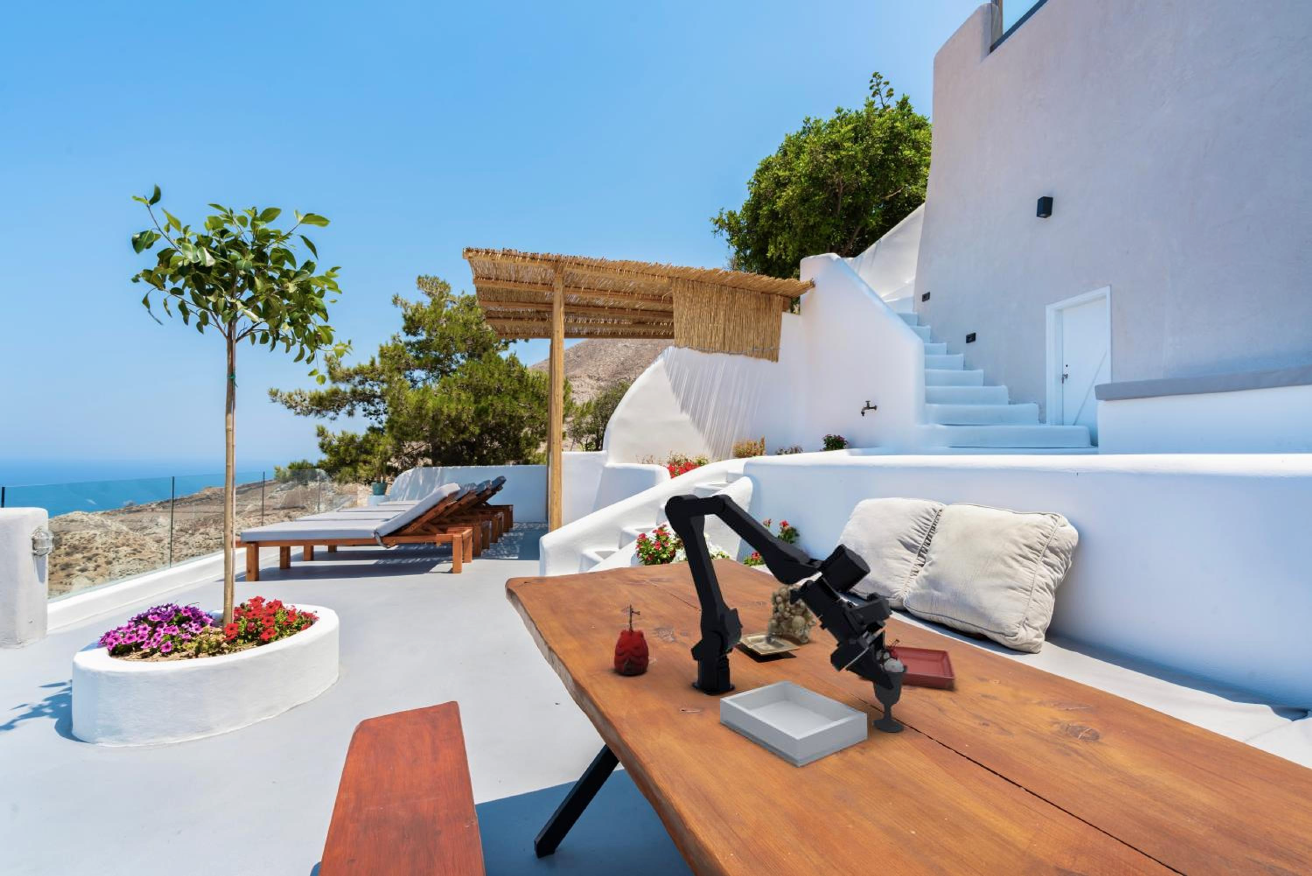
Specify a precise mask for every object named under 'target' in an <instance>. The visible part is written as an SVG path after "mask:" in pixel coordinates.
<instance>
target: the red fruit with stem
mask: <svg viewBox="0 0 1312 876" xmlns="http://www.w3.org/2000/svg"><path fill="white" fill-rule="evenodd" d="M628 608H629V620H628V624H629V629H628V630H627V629H622V630H621V631H620V636H619V638H618V639H617V641H616V643H615V648H614V658H613V665H614V667H615V669H616V671H617V672H619V673H620V674H621V675H625V676H626V675H627V676H637V675H641V674H642V673H645V672H646V670H647V669H648V666H649V663H650V659H649V656H650V654H649V653H650V652H649V646H648V644H647V641H646V639H645V636H644V632H643V631H642V630H634V629H633V624H632V623H633V620H632V618H633V614H635V615H638V616H641V611H640V610H638V611H635V610H634V609H633V608H632V604H629V606H628Z"/></svg>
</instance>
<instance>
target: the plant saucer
mask: <svg viewBox="0 0 1312 876" xmlns="http://www.w3.org/2000/svg"><path fill="white" fill-rule="evenodd" d="M885 645H886V647H887V646H891V645H892V644H891V645H890V644H885ZM893 646H894V644H893V645H892V647H893ZM894 652H896V653H897V654H898V658H899V659H900V661H901V662H902V664H903V665H907V667H908V670H907V672H906V673H905V674H903V680H902V684H907V685H913V686H920V687H921V686H922V687H931V688H939V689H945V688H947V687H948V686H950V684H951V683H953V681H954V680H955V679H956V674H955V670H954V667H953V664H952V660H951V656H950V654H949V651H948V650H945V649H935V648H933V649H932V648H924V647H912V646H902V645H895V646H894Z"/></svg>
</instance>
